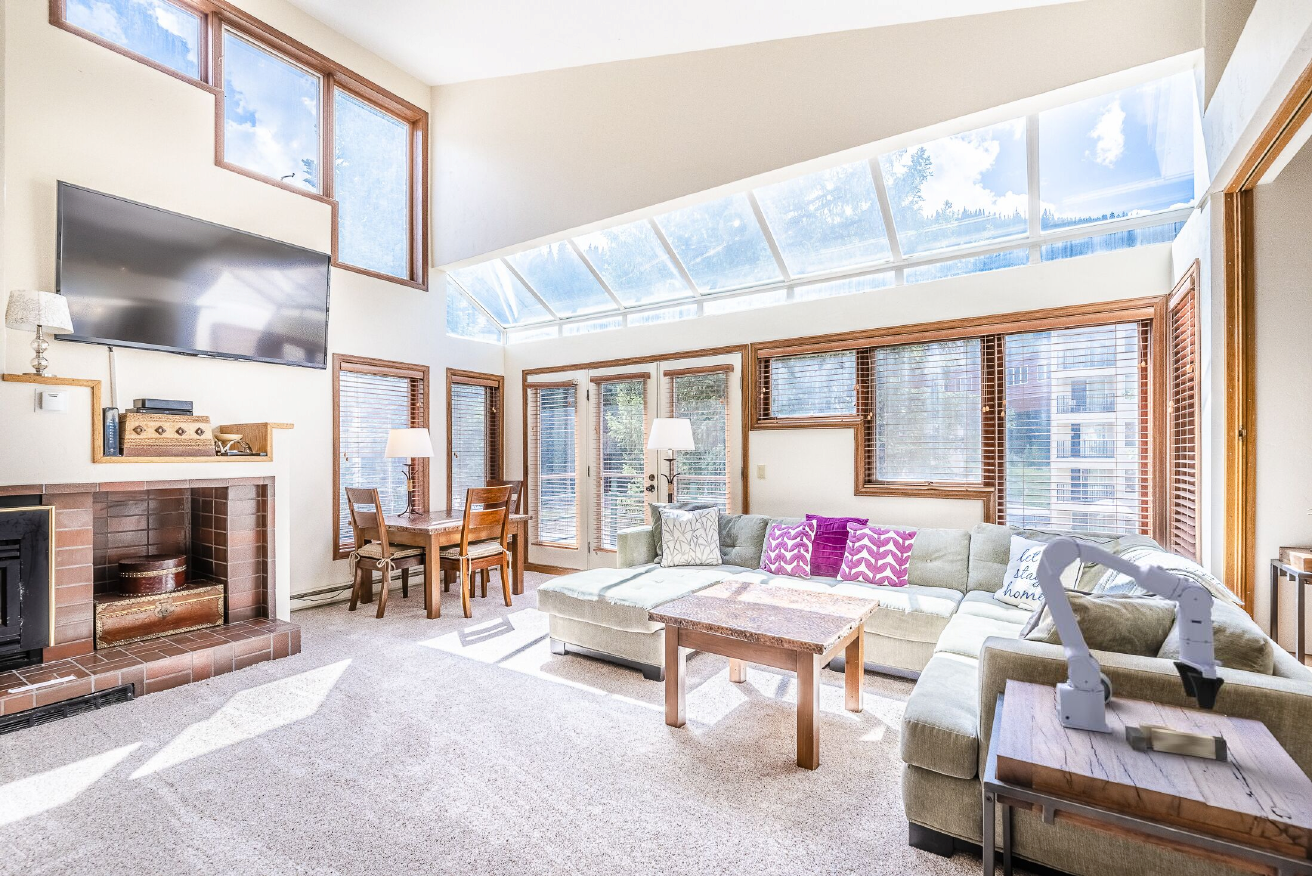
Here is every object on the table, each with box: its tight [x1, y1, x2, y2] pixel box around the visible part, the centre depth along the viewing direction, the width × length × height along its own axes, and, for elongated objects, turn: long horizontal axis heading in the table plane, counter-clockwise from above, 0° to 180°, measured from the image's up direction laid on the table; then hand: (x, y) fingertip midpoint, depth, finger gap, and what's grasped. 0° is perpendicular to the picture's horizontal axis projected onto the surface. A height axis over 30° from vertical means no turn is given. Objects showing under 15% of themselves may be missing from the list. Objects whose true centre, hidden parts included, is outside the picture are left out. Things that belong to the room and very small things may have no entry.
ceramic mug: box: [1100, 672, 1113, 705], centre depth 161 cm, size 11×8×8 cm
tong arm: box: [1151, 728, 1228, 762], centre depth 128 cm, size 12×2×4 cm, turn 65°
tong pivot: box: [1124, 722, 1177, 753], centre depth 132 cm, size 8×6×4 cm, turn 65°
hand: (1199, 702), depth 133 cm, fingers open, 7 cm apart
